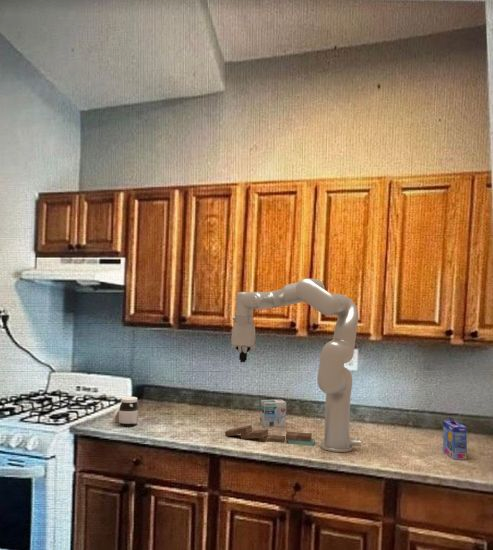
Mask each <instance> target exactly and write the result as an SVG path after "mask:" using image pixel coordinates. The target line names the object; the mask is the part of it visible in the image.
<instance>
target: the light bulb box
mask: <svg viewBox="0 0 493 550" xmlns="http://www.w3.org/2000/svg"><path fill="white" fill-rule="evenodd" d="M259 411H260V416H259V424H261V426H262V427H264V428H271V427H286V424H287V423H286V421H287V420H286V419H287V402H286V401H284V400H283V399H260V410H259Z"/></svg>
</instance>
